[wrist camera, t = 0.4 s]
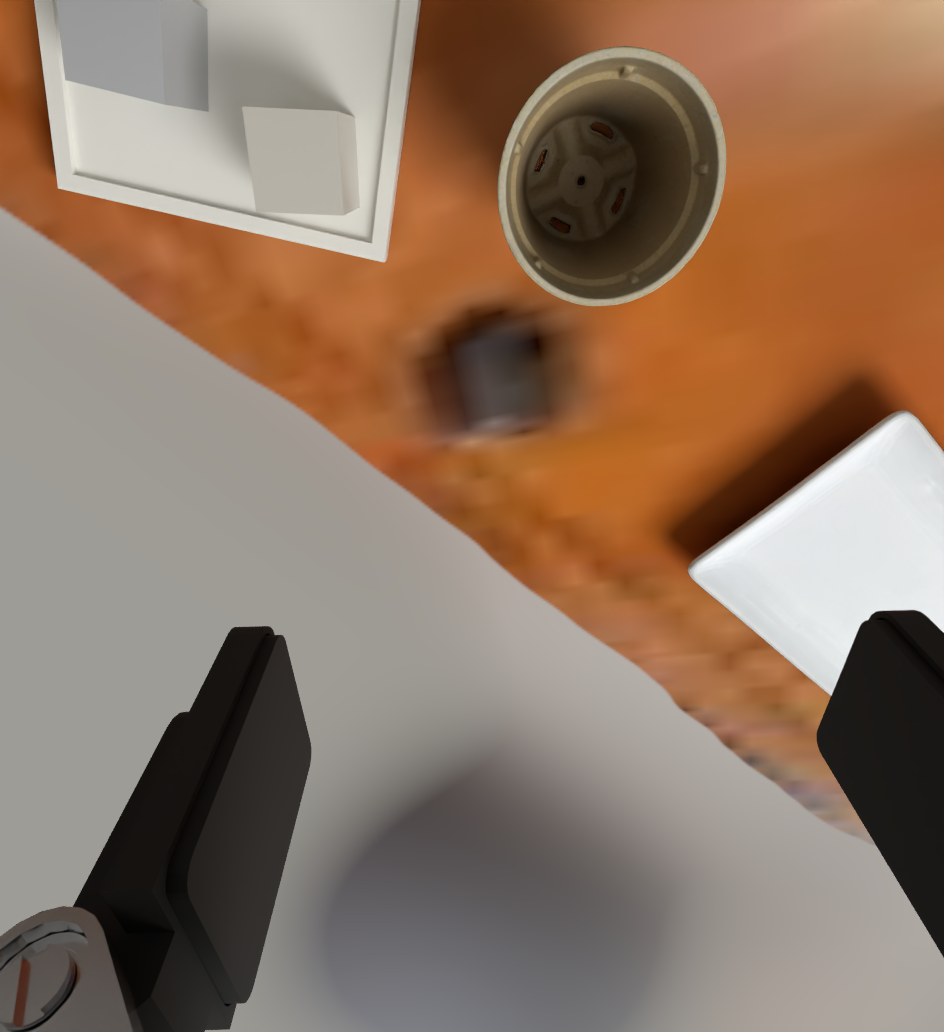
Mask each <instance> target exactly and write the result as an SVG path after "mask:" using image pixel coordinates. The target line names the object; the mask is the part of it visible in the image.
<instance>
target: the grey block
mask: <svg viewBox="0 0 944 1032" xmlns="http://www.w3.org/2000/svg"><path fill="white" fill-rule="evenodd" d="M56 3H57V12H58V21H59V30H60V39H61V48H62V56H63V65H64V74H65V80H67V81H71V82H75V83H79V84H83V85H87V86H91V87H96V88H100V89H104V90H108V91H112V92H116V93H120V94H124V95H128V96H132V97H136V98H140V99H144V100H148V101H152V102H156V103H160V104H164V105H170V106H176V107H182V108H188V109H194V110H200V111H207V112H209V104H208V18H207V9H206V8H204V7H202V6H200V5H198V4H197V3H195V2H193V1H191V0H56Z"/></svg>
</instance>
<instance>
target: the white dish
mask: <svg viewBox="0 0 944 1032" xmlns="http://www.w3.org/2000/svg"><path fill="white" fill-rule="evenodd" d="M191 1H193V2H195V3H197V4H198V5H200V6H202V7H204V8H206V9H207V18H208V104H209V112H207V111H200V110H194V109H188V108H182V107H176V106H170V105H164V104H160V103H156V102H152V101H148V100H144V99H140V98H136V97H132V96H128V95H124V94H120V93H116V92H112V91H108V90H104V89H100V88H96V87H91V86H87V85H83V84H79V83H75V82H71V81H67V80H65V74H64V65H63V56H62V48H61V39H60V30H59V21H58V12H57V3H56V0H34V3H35V11H36V19H37V27H38V35H39V43H40V51H41V58H42V66H43V74H44V82H45V90H46V98H47V105H48V113H49V121H50V129H51V137H52V145H53V152H54V160H55V168H56V176H57V184H58V188H59V189H63V190H68V191H72V192H77V193H81V194H85V195H90V196H94V197H99V198H103V199H107V200H112V201H116V202H121V203H125V204H129V205H134V206H138V207H143V208H147V209H151V210H156V211H160V212H165V213H169V214H173V215H178V216H182V217H187V218H191V219H195V220H200V221H204V222H209V223H213V224H217V225H222V226H226V227H231V228H235V229H239V230H244V231H248V232H253V233H257V234H261V235H266V236H270V237H275V238H279V239H283V240H288V241H292V242H297V243H301V244H305V245H310V246H314V247H319V248H323V249H327V250H332V251H336V252H341V253H345V254H349V255H354V256H358V257H363V258H367V259H371V260H376V261H380V262H385V261H386V260H387V257H388V250H389V242H390V234H391V227H392V219H393V212H394V204H395V196H396V189H397V181H398V174H399V166H400V158H401V151H402V143H403V136H404V128H405V120H406V113H407V105H408V98H409V90H410V82H411V75H412V67H413V60H414V52H415V44H416V37H417V29H418V22H419V14H420V6H421V0H191ZM242 107H262V108H284V109H305V110H327V111H338V112H341V113H344V114H347V115H350V116H353V117H355V122H356V141H357V160H358V179H359V198H360V208H358V209H356V210H354V211H352V212H350V213H348V214H346V215H344V216H341V215H317V214H294V213H270V212H256V208H255V200H254V193H253V185H252V178H251V171H250V163H249V156H248V148H247V141H246V133H245V126H244V119H243V111H242Z"/></svg>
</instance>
